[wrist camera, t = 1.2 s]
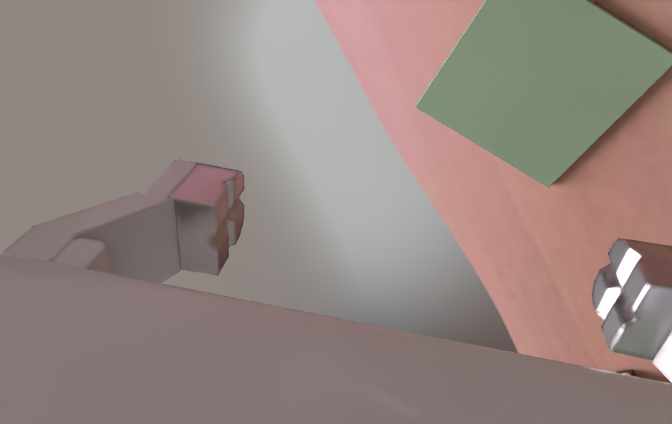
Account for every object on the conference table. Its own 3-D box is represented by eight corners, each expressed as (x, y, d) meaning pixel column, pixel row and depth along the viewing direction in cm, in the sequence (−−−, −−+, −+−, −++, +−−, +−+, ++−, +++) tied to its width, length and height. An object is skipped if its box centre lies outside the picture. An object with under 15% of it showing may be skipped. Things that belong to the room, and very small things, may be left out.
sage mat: (515, -47, 40) (515, -45, 40) (678, 55, 41) (680, 58, 40) (415, 104, 50) (414, 107, 49) (548, 184, 51) (548, 188, 50)
